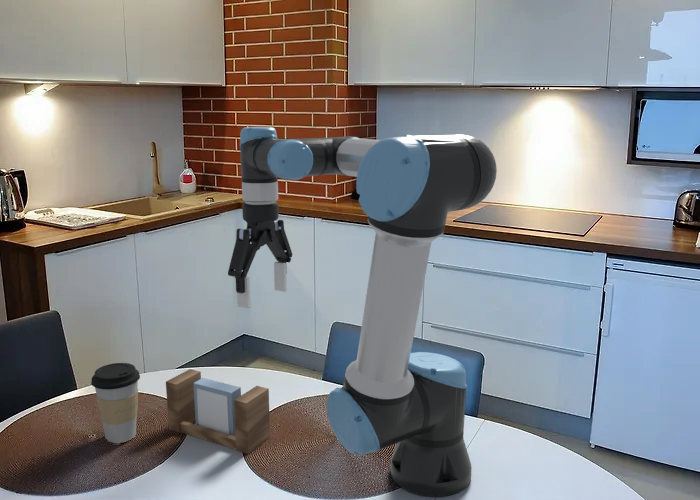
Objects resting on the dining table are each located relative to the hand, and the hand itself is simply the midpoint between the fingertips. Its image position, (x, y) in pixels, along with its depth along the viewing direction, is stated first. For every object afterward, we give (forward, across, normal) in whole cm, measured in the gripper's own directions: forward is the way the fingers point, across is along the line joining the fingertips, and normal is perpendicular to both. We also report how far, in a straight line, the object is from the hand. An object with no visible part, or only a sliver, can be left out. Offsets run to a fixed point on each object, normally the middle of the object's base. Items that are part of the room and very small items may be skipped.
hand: (263, 298), depth 141 cm
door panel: (+27, +13, -3) cm, 30 cm away
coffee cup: (+27, +24, -20) cm, 41 cm away
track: (+27, +13, -3) cm, 30 cm away
